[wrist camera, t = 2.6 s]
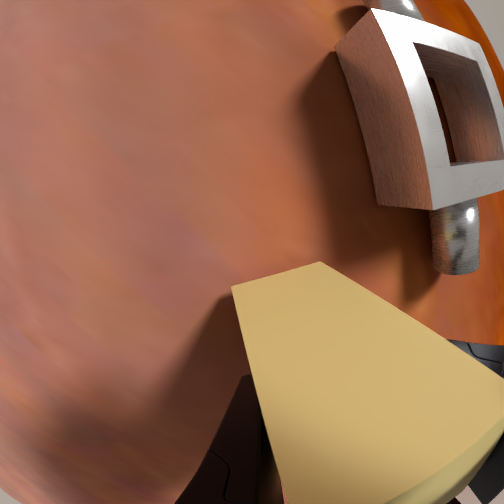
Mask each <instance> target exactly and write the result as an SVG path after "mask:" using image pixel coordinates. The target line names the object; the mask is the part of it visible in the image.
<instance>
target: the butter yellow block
mask: <svg viewBox="0 0 504 504" xmlns="http://www.w3.org/2000/svg"><path fill="white" fill-rule="evenodd" d="M231 289H232V293H233V298H234V302H235V306H236V311H237V315H238V319H239V323H240V328H241V332H242V336H243V340H244V344H245V348H246V352H247V356H248V360H249V364H250V368H251V372H252V376H253V380H254V384H255V388H256V392H257V396H258V399H259V403H260V407H261V411H262V415H263V418H264V422H265V426H266V429H267V433H268V437H269V440H270V444H271V447H272V451H273V454H274V458H275V461H276V465H277V468H278V472H279V475H280V479H281V482H282V485H283V489H284V492H285V495H286V499H287V502H288V504H446V503H447V502H449V501H450V500H452V499H453V498H454V497H456V496H457V495H458V494H459V493H461V492H462V491H463V490H464V489H465V487H466V486H467V485H468V484H469V482H470V481H471V480H472V479H473V477H474V476H475V475H476V473H477V472H478V471H479V469H480V468H481V467H482V465H483V464H484V462H485V461H486V459H487V458H488V457H489V455H490V454H491V452H492V450H493V449H494V447H495V446H496V444H497V443H498V441H499V439H500V438H501V436H502V434H503V433H504V379H503V378H502V377H500V376H499V375H498V374H496V373H495V372H493V371H492V370H490V369H489V368H487V367H486V366H485V365H483V364H482V363H480V362H479V361H477V360H476V359H474V358H473V357H471V356H470V355H468V354H467V353H465V352H464V351H462V350H461V349H459V348H458V347H456V346H455V345H453V344H452V343H450V342H449V341H447V340H446V339H444V338H443V337H441V336H440V335H438V334H437V333H435V332H434V331H432V330H430V329H429V328H427V327H426V326H424V325H423V324H421V323H420V322H418V321H416V320H415V319H413V318H412V317H410V316H409V315H407V314H406V313H404V312H402V311H401V310H399V309H398V308H396V307H394V306H393V305H391V304H390V303H388V302H386V301H385V300H383V299H382V298H380V297H378V296H377V295H375V294H374V293H372V292H370V291H369V290H367V289H365V288H364V287H362V286H361V285H359V284H357V283H356V282H354V281H352V280H351V279H349V278H347V277H346V276H344V275H342V274H341V273H339V272H338V271H336V270H334V269H333V268H331V267H329V266H328V265H326V264H324V263H322V262H321V261H320V262H316V263H313V264H309V265H306V266H302V267H299V268H296V269H292V270H289V271H285V272H282V273H278V274H274V275H271V276H267V277H264V278H260V279H256V280H253V281H249V282H246V283H242V284H238V285H234V286H231Z"/></svg>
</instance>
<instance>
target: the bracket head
mask: <svg viewBox="0 0 504 504" xmlns="http://www.w3.org/2000/svg"><path fill="white" fill-rule="evenodd" d="M363 2H364V4H365V6H366V8H367V10H368V12H367V13H366V14H365V15H364V16H363V17H362V18H361V19H360V20H359V21H358V22H357V23H356V24H355V25H354V26H353V27H352V28H351V29H350V30H349V31H348V32H347V33H346V34H345V36H344V37H343V38H342V39H341V40H340V41H339V42H338V43H337V44H336V45H335V46H334V48H335V51H336V53H337V56H338V59H339V61H340V64H341V67H342V69H343V72H344V75H345V78H346V81H347V84H348V87H349V90H350V93H351V96H352V99H353V102H354V106H355V109H356V112H357V116H358V119H359V123H360V126H361V130H362V134H363V138H364V142H365V146H366V150H367V154H368V159H369V163H370V168H371V172H372V177H373V182H374V188H375V193H376V199H377V204H378V205H384V206H396V207H406V208H417V209H426V210H429V216H430V226H431V238H432V256H433V268H434V269H435V270H436V271H438V272H440V273H443V274H448V275H463V274H468V273H471V272H474V271H476V270H477V269H478V268H479V266H480V228H479V211H478V200H477V197H480V196H484V195H487V194H491V193H494V192H497V191H501V190H504V108H503V105H502V101H501V98H500V95H499V92H498V89H497V86H496V83H495V80H494V78H493V75H492V72H491V70H490V67H489V65H488V62H487V60H486V57H485V55H484V53H483V51H482V48H481V46H480V44H479V43H477V42H474V41H472V40H470V39H468V38H466V37H463V36H461V35H459V34H456V33H454V32H451V31H449V30H446V29H443V28H441V27H438V26H435V25H432V24H429V23H426V22H425V21H424V19H423V17H422V15H421V14H420V12H419V10H418V8H417V7H416V5H415V3H414V2H413V0H363ZM427 77H429V78H434V81H435V83H436V86H437V89H438V92H439V95H440V98H441V102H442V105H443V108H444V112H445V115H446V119H447V122H448V126H449V130H450V134H451V139H452V143H453V148H454V153H455V158H456V162H452V163H450V161H449V156H448V151H447V146H446V142H445V137H444V133H443V129H442V125H441V121H440V118H439V114H438V111H437V107H436V104H435V101H434V98H433V94H432V91H431V88H430V86H429V83H428V80H427Z"/></svg>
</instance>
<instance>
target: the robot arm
mask: <svg viewBox="0 0 504 504" xmlns="http://www.w3.org/2000/svg"><path fill="white" fill-rule="evenodd" d="M446 340H447V341H449V342H450V343H452V344H453V345H455V346H456V347H458V348H459V349H461V350H462V351H464V352H465V353H467V354H468V355H470V356H471V357H473V358H474V359H476V360H477V361H479V362H480V363H482V364H483V365H485V366H486V367H487V368H489V369H490V370H492V371H493V372H495V373H496V374H498V375H499V376H500V377H502V378H503V379H504V346H501V345H486V344H477V343H470V342H468V343H467V342H462V341H455V340H449V339H446ZM468 486H469V487H470V488H471V490H472V491H473V492H474V494H475V495H476V496H477V498H478V499H479V500H480V502H481V503H482V504H488V503H490V502H491V501H492V500H493V499H494V498H495V497H496V496H497V495H498V494H499V493H500V492H501V491H502V490H503V489H504V433H503V434H502V436H501V438H500V439H499V441H498V443H497V444H496V446H495V447H494V449H493V450H492V452H491V454H490V455H489V457H488V458H487V459H486V461H485V462H484V464H483V465H482V467H481V468H480V469H479V471H478V472H477V473H476V475H475V476H474V477H473V479H472V480H471V481H470V482H469V484H468ZM174 504H284V500H283V493H282V487H281V480H280V475H279V472H278V468H277V465H276V461H275V458H274V454H273V451H272V447H271V444H270V440H269V437H268V433H267V429H266V426H265V422H264V418H263V415H262V411H261V407H260V403H259V399H258V396H257V392H256V388H255V384H254V380H253V376H252V374H248V375H245V376H242V377H241V380H240V382H239V384H238V386H237V389H236V391H235V393H234V395H233V398H232V400H231V402H230V404H229V406H228V409H227V411H226V413H225V415H224V417H223V419H222V422H221V424H220V426H219V428H218V430H217V432H216V434H215V436H214V439H213V441H212V443H211V445H210V447H209V450H208V451H207V453H206V455H205V457H204V459H203V461H202V463H201V465H200V466H199V468H198V470H197V472H196V473H195V475H194V476H193V478H192V479H191V481H190V482H189V484H188V485H187V487H186V488H185V490H184V491H183V492H182V494H181V495H180V496H179V498H178V499H177V501H176V502H175V503H174ZM446 504H461V503H460V502H459V501H458V500H457V499H456V498H455V497H454V498H453V499H452V500H450V501H449V502H447V503H446Z"/></svg>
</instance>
